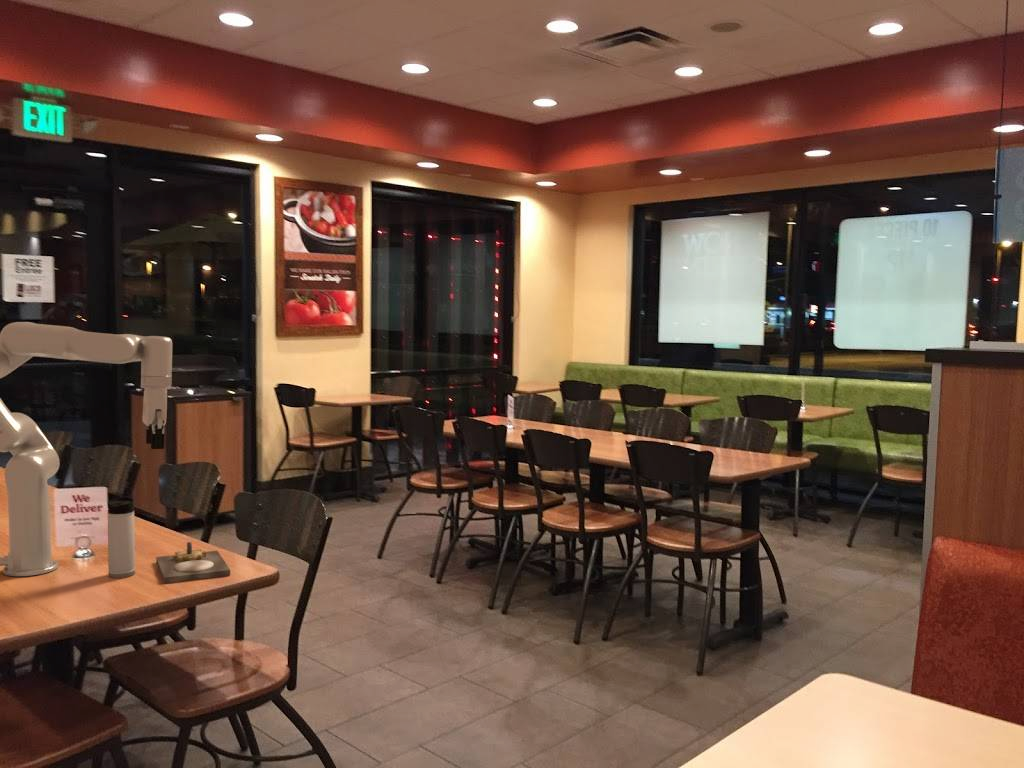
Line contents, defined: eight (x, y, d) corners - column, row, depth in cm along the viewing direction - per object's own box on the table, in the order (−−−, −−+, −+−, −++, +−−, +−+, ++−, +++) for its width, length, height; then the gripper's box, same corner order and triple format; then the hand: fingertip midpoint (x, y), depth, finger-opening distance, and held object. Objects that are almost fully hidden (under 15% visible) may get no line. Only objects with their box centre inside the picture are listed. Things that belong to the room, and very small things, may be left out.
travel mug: (140, 571, 222) (139, 496, 220) (126, 579, 215) (125, 502, 214) (117, 570, 223) (116, 495, 221) (103, 577, 216) (102, 501, 215)
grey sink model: (164, 583, 212) (164, 561, 212) (156, 562, 230) (156, 541, 230) (230, 575, 220) (230, 554, 220) (217, 555, 238) (217, 535, 238)
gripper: (137, 379, 230) (135, 441, 231) (145, 385, 215) (143, 451, 216) (166, 380, 234) (165, 441, 235) (176, 385, 219) (175, 450, 220)
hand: (154, 446), depth 225 cm, fingers open, 9 cm apart
